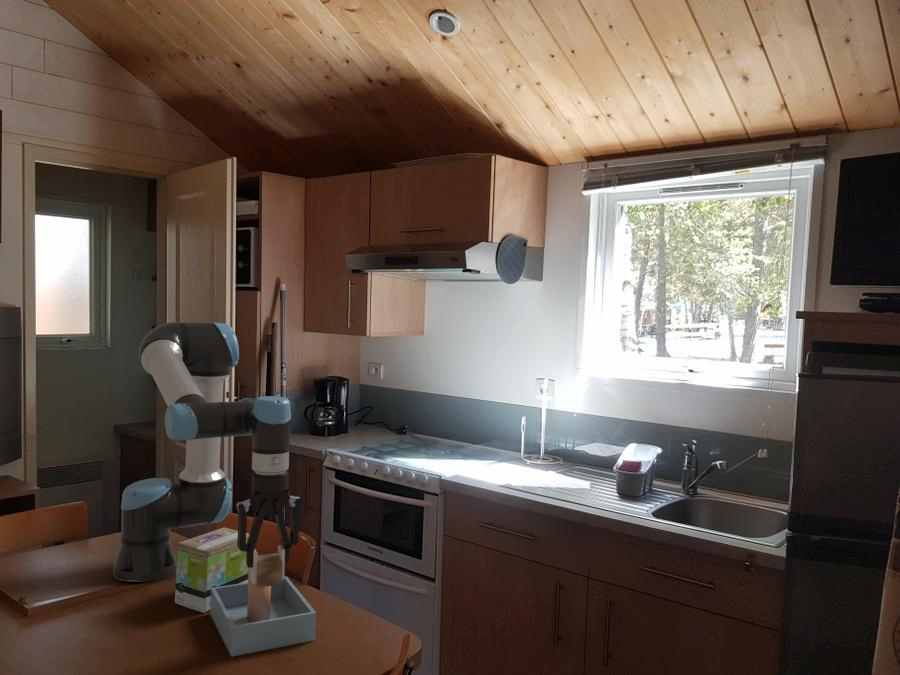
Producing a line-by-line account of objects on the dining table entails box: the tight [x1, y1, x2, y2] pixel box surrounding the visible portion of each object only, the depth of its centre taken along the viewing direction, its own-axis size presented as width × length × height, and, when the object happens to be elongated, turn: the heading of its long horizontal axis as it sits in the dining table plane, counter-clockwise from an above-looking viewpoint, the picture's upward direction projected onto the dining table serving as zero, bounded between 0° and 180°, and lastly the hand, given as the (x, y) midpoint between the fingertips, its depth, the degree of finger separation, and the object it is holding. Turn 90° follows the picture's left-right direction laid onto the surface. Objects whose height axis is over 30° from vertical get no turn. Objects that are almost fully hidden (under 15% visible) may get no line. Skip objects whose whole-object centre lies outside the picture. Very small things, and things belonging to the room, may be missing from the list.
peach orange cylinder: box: [247, 568, 271, 623], centre depth 163 cm, size 5×5×11 cm
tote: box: [209, 576, 317, 658], centre depth 161 cm, size 22×18×6 cm
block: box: [256, 552, 282, 588], centre depth 155 cm, size 5×5×5 cm
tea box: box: [174, 527, 250, 614], centre depth 175 cm, size 15×10×15 cm, turn 153°
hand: (267, 579), depth 155 cm, fingers closed on block, 5 cm apart
